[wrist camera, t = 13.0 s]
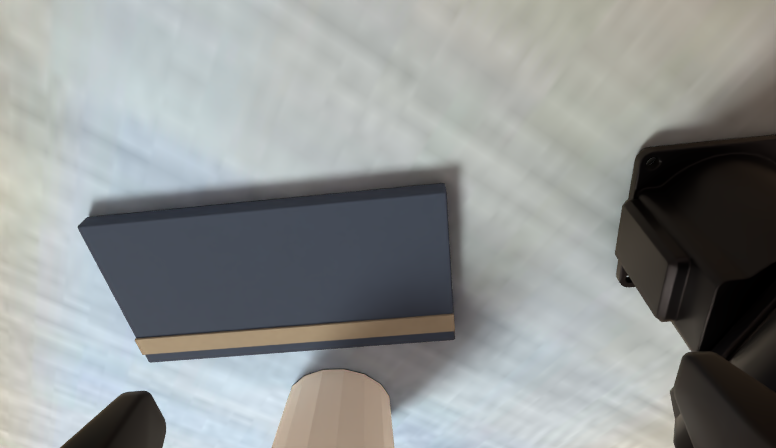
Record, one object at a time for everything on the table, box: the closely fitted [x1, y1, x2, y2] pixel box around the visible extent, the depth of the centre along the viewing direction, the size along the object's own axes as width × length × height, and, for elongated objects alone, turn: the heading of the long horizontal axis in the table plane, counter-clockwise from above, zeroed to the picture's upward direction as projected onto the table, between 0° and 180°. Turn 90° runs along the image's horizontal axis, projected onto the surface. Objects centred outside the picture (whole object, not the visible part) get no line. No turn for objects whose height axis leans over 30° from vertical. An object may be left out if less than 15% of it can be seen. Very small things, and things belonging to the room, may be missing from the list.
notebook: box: [78, 183, 455, 362], centre depth 22 cm, size 15×8×1 cm, turn 96°
